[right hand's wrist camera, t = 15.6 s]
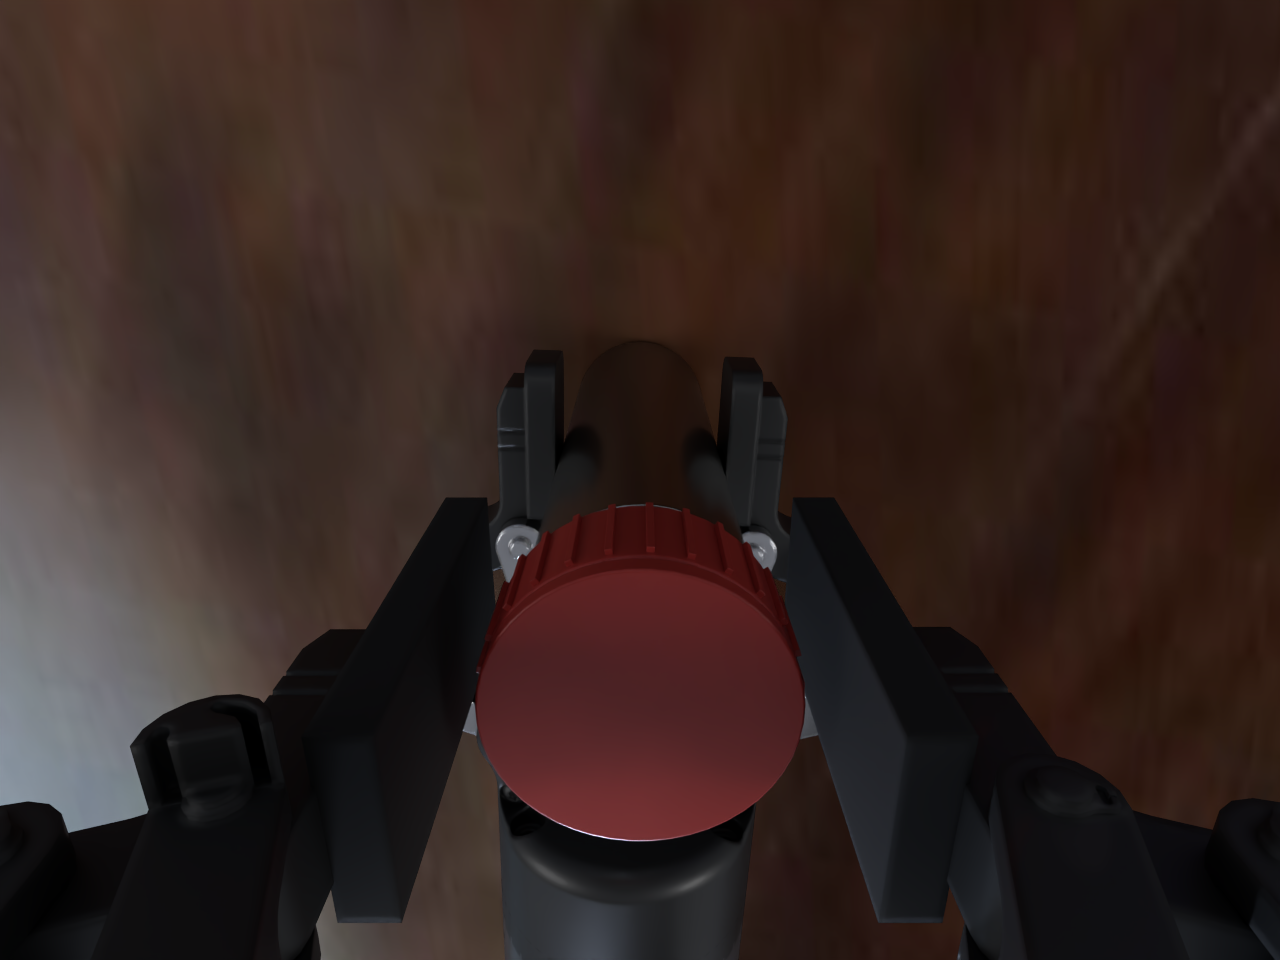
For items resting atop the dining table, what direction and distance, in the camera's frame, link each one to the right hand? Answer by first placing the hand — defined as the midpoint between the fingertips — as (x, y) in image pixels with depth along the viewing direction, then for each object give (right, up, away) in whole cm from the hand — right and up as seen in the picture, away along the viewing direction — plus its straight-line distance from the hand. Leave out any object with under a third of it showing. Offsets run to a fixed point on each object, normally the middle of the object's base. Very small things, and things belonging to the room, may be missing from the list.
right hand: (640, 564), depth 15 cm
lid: (0, -1, -4) cm, 4 cm away
